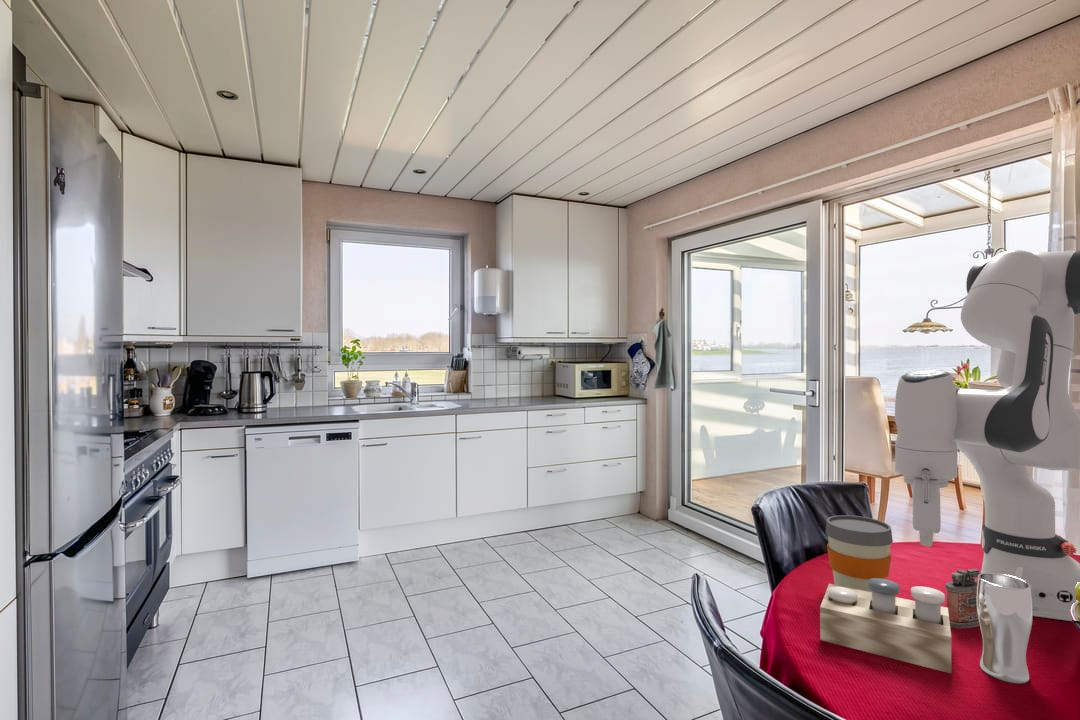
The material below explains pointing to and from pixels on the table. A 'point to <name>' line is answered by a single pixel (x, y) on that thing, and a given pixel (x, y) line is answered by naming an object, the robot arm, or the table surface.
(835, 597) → the plunger far
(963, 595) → the lighter
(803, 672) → the table surface
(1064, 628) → the table surface
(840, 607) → the wooden peg holder
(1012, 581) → the beer glass
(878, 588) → the plunger middle
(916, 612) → the plunger near
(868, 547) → the reusable coffee cup
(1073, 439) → the robot arm
